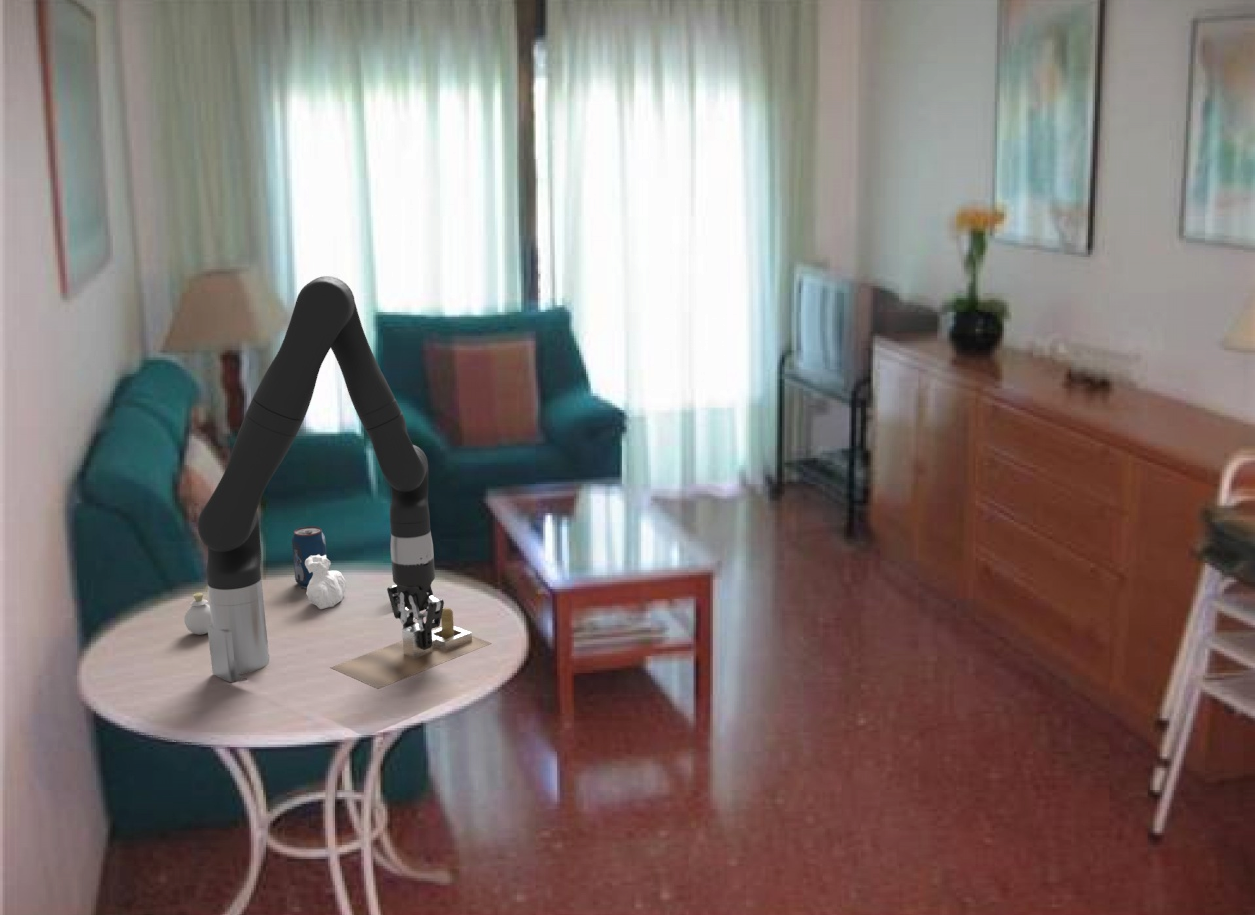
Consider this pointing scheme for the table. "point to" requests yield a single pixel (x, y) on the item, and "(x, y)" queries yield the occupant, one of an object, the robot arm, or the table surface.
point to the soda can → (306, 551)
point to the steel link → (413, 643)
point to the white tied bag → (324, 583)
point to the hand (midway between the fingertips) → (418, 644)
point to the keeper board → (404, 658)
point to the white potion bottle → (198, 615)
